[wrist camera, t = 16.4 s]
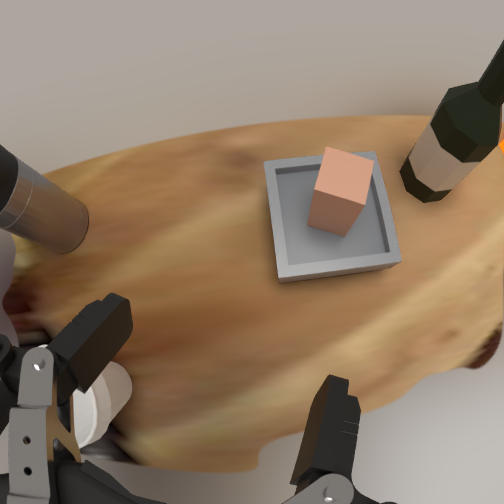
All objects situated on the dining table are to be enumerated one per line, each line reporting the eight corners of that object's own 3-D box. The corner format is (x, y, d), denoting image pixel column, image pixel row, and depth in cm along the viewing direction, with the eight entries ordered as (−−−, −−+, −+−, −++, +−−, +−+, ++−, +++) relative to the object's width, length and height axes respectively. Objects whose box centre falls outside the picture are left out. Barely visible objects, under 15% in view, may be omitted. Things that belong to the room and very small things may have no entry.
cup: (165, 408, 38) (117, 437, 25) (102, 432, 37) (47, 458, 24) (125, 329, 41) (66, 326, 28) (68, 360, 41) (6, 364, 27)
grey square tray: (279, 285, 40) (278, 277, 33) (266, 185, 43) (263, 161, 37) (383, 271, 39) (401, 261, 32) (363, 175, 42) (374, 151, 36)
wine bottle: (389, 168, 42) (473, 5, 13) (423, 146, 43) (507, 3, 14) (423, 213, 40) (551, 80, 11) (455, 187, 41) (569, 65, 12)
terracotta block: (344, 237, 35) (365, 205, 26) (306, 225, 36) (314, 189, 26) (353, 201, 36) (374, 161, 26) (317, 190, 37) (326, 146, 27)
